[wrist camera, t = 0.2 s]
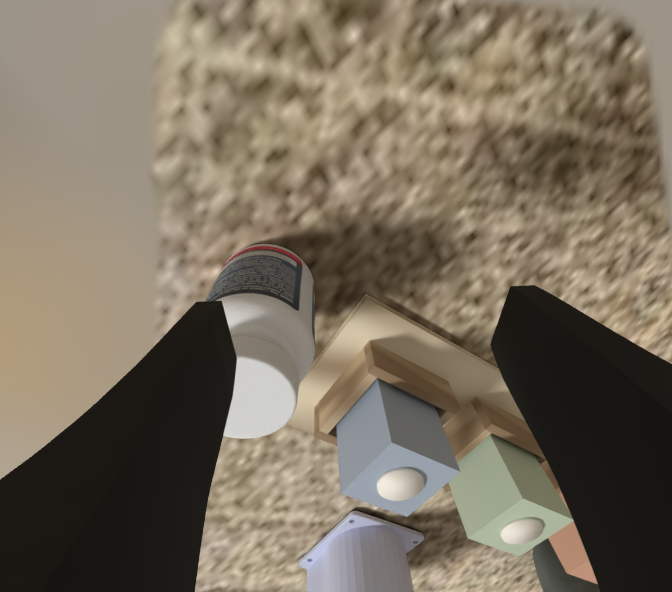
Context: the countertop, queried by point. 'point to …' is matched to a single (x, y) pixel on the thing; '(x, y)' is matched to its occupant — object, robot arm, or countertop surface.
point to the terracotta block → (572, 551)
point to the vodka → (557, 572)
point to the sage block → (507, 497)
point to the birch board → (410, 381)
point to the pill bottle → (266, 335)
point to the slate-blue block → (393, 450)
